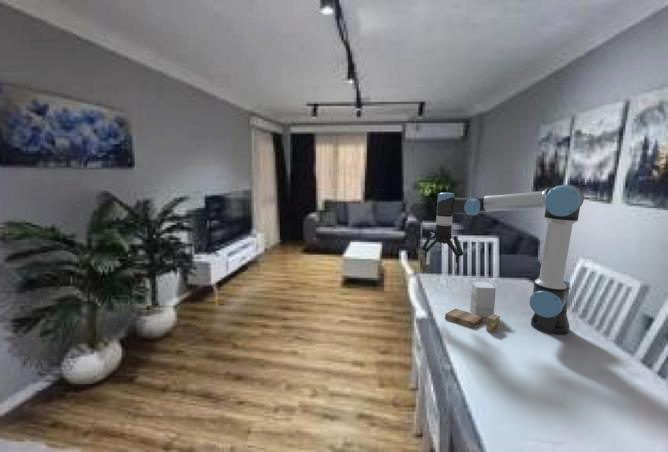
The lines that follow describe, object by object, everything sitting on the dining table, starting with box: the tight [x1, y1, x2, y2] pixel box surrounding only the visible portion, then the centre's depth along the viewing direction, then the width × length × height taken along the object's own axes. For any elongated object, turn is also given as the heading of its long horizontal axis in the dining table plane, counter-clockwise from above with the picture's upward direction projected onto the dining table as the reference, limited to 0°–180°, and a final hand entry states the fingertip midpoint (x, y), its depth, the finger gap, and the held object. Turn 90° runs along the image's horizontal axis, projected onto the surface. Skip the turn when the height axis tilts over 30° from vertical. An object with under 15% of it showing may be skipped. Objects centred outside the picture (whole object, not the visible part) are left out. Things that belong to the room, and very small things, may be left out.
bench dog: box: [485, 313, 501, 334], centre depth 163 cm, size 3×6×6 cm, turn 134°
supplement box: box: [469, 281, 496, 318], centre depth 180 cm, size 9×9×15 cm
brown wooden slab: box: [444, 308, 484, 329], centre depth 173 cm, size 14×10×3 cm
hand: (441, 266), depth 182 cm, fingers open, 13 cm apart
